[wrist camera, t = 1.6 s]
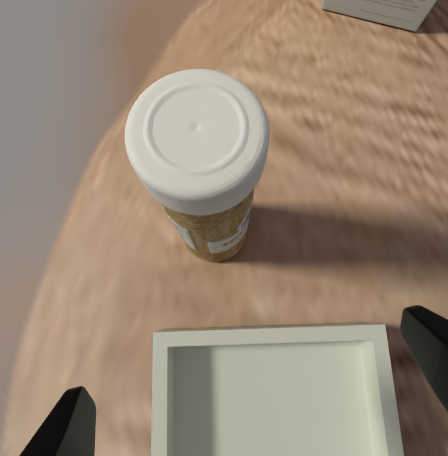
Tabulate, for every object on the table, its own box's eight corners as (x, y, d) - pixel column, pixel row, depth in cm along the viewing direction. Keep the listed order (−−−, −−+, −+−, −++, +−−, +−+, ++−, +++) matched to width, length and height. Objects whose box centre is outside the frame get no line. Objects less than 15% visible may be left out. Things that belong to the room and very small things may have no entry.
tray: (395, 565, 18) (427, 615, 15) (161, 572, 18) (148, 622, 15) (363, 322, 21) (385, 324, 18) (163, 329, 21) (153, 332, 19)
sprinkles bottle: (246, 263, 22) (271, 200, 9) (179, 261, 22) (111, 195, 9) (248, 199, 23) (271, 63, 10) (184, 197, 24) (128, 60, 11)
